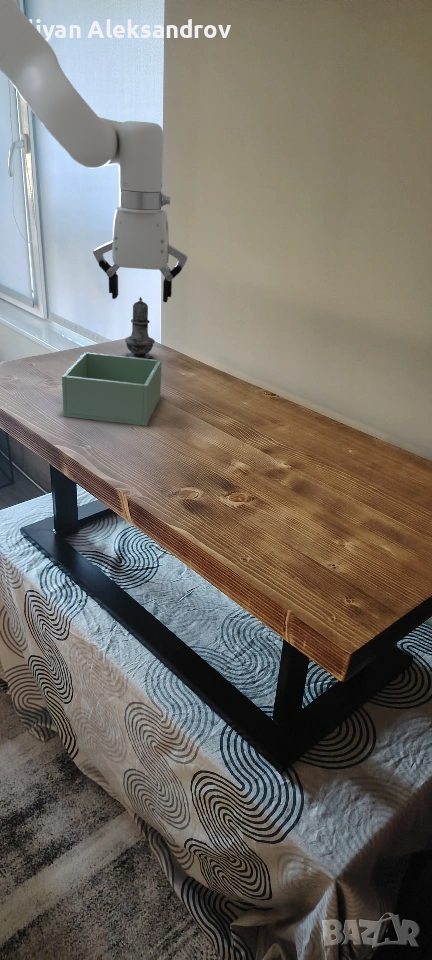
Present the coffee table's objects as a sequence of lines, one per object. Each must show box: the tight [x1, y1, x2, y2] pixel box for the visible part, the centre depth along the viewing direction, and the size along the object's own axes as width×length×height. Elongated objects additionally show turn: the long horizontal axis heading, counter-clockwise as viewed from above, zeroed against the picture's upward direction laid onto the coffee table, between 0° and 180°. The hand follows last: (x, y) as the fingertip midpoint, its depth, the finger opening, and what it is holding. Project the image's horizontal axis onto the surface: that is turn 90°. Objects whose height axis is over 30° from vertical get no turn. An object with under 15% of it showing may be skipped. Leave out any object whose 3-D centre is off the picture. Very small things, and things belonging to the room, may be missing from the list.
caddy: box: [61, 351, 163, 427], centre depth 101 cm, size 13×12×7 cm
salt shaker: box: [124, 296, 156, 360], centre depth 122 cm, size 6×6×12 cm
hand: (140, 298), depth 119 cm, fingers open, 9 cm apart
